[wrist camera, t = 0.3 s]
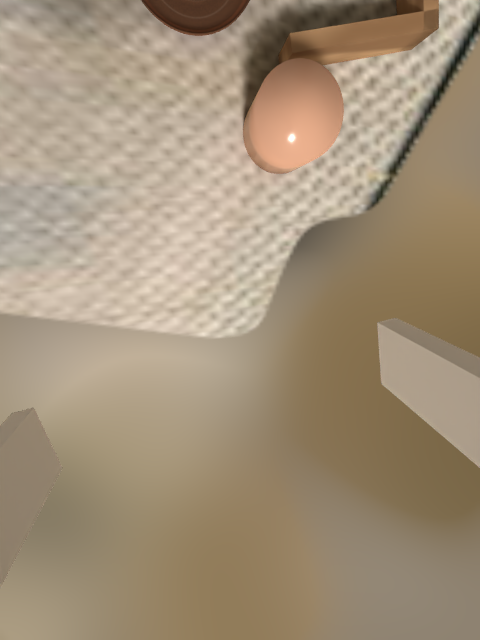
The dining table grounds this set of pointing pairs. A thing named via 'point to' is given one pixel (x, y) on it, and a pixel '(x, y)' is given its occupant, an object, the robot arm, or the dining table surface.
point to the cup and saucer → (196, 14)
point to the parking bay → (365, 35)
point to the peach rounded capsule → (293, 116)
